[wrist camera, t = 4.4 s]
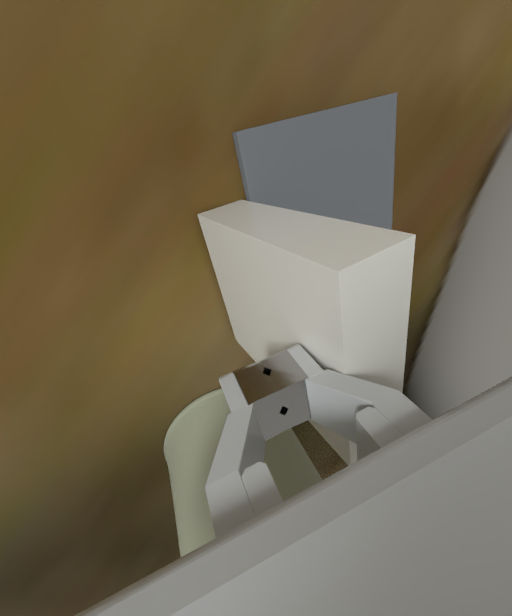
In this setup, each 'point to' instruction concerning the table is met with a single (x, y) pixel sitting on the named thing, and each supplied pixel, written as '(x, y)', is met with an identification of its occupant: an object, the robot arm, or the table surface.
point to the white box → (315, 291)
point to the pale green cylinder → (199, 457)
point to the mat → (325, 162)
